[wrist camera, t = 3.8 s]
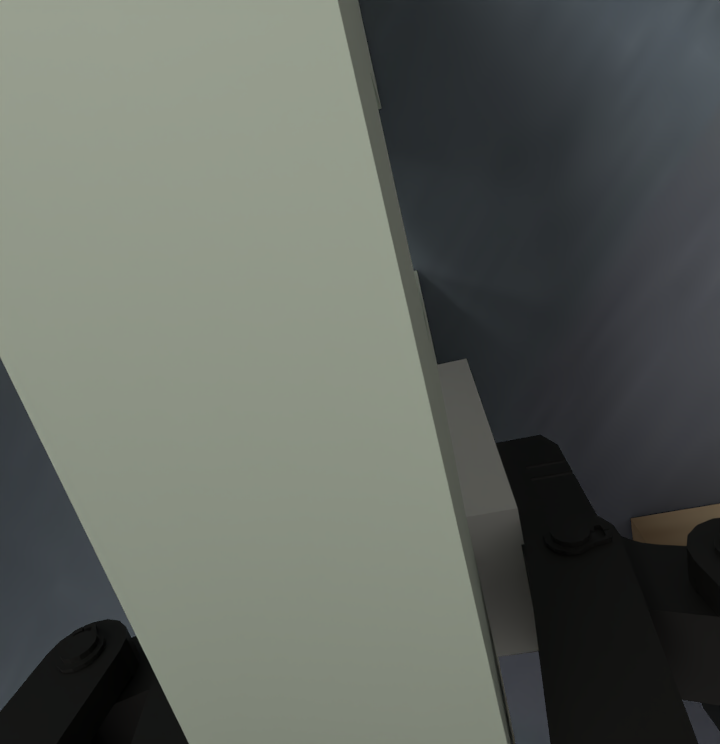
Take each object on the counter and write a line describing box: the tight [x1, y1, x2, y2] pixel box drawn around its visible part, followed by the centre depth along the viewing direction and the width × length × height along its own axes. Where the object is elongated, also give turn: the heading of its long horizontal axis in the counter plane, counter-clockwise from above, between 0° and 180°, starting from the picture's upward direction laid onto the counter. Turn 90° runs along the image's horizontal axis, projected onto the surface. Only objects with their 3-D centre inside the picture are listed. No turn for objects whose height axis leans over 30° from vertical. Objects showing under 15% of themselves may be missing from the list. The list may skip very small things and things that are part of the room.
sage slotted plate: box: [0, 0, 515, 744], centre depth 9 cm, size 16×2×12 cm, turn 14°
